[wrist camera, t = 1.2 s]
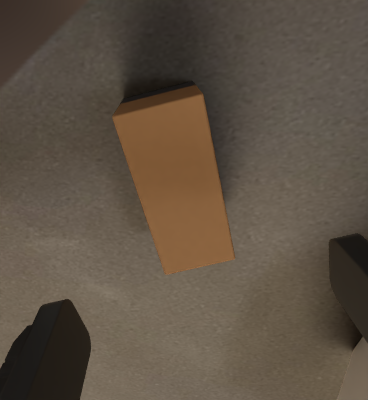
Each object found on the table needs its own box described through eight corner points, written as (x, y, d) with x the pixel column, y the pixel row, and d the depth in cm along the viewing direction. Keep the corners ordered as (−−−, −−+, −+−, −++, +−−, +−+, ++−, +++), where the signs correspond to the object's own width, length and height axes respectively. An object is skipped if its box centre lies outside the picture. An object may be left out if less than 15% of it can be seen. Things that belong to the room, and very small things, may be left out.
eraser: (164, 231, 21) (165, 275, 17) (122, 98, 17) (111, 116, 13) (221, 218, 21) (235, 259, 17) (193, 80, 17) (203, 92, 13)
